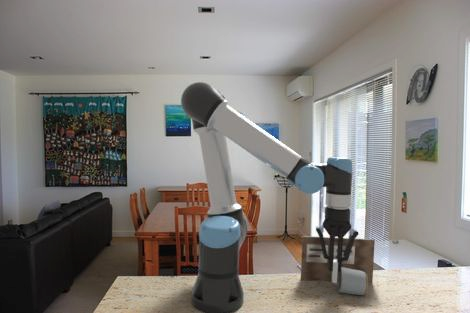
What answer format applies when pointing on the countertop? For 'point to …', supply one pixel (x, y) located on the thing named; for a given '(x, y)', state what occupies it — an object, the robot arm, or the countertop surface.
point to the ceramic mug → (352, 281)
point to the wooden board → (318, 267)
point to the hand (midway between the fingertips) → (334, 281)
